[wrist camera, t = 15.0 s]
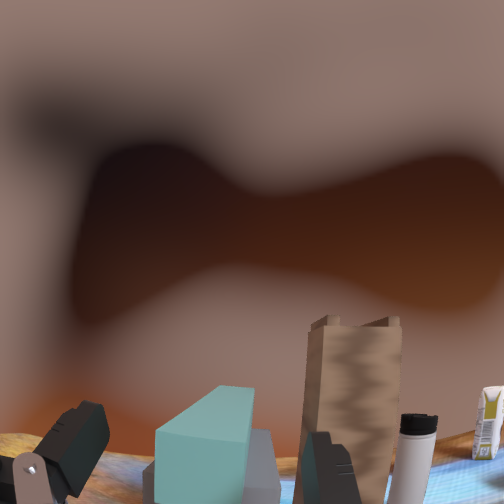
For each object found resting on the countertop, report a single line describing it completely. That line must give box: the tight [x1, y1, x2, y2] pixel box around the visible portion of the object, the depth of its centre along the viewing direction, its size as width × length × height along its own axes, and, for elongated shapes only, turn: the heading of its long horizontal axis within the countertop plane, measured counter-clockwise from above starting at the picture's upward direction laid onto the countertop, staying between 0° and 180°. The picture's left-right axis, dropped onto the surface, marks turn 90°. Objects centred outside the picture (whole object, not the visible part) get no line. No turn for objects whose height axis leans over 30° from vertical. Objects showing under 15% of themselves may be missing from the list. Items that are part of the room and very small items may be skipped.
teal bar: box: [154, 385, 255, 504], centre depth 23 cm, size 4×24×4 cm, turn 179°
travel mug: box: [387, 414, 438, 504], centre depth 37 cm, size 6×7×20 cm
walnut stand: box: [292, 315, 402, 504], centre depth 28 cm, size 10×11×33 cm
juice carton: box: [472, 386, 504, 460], centre depth 54 cm, size 8×9×19 cm
